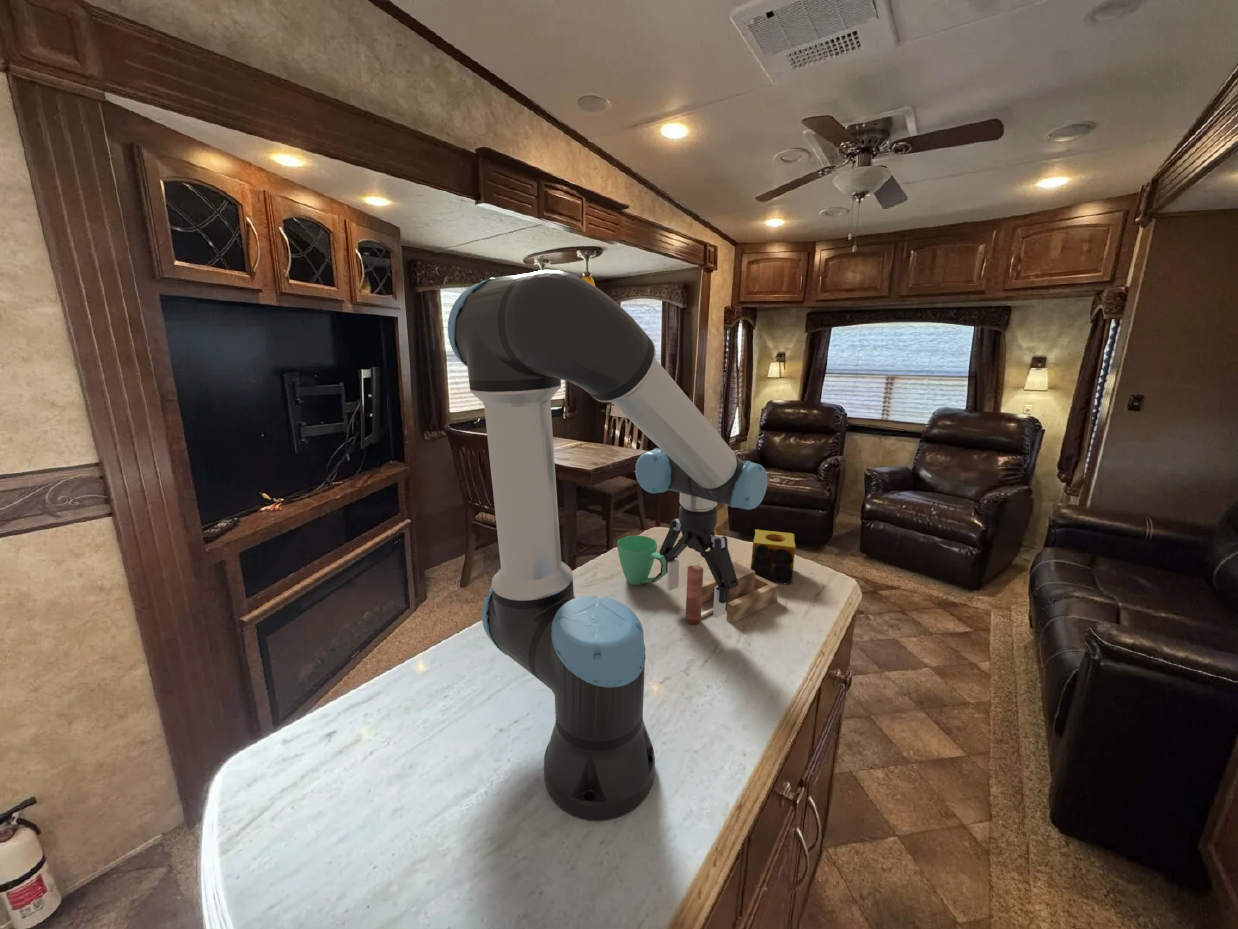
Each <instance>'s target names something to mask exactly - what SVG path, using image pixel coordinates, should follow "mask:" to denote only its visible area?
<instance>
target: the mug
mask: <svg viewBox="0 0 1238 929" xmlns="http://www.w3.org/2000/svg"><path fill="white" fill-rule="evenodd" d="M616 547H617V553H618V557H619V562H620V563H619V564H620V566H621V568H622V569H621V570H622V573H623V575H624V577H625V580H626V582H627V583H628V584H630V585H634V586H641V585H644V584H650V583H657V582H658V581H659V580H660V579H662V578H664V576H667V573H666V560H665V557H664V556H663V555H662V556H661V555H660V553H659V552H657V549H658V542H657V541H656V540H655V539H654V538H652V537H649V536H646V535H636V534H635V535H627V536H624V537H621V538H619V539H618V540H617V542H616ZM654 560H658V561H659V562H660V572H659V573H658V574H657V575H656V576H654V577H649V576H650V575H651V574H650V573H651V571H652V568H653V565H654Z"/></svg>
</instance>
